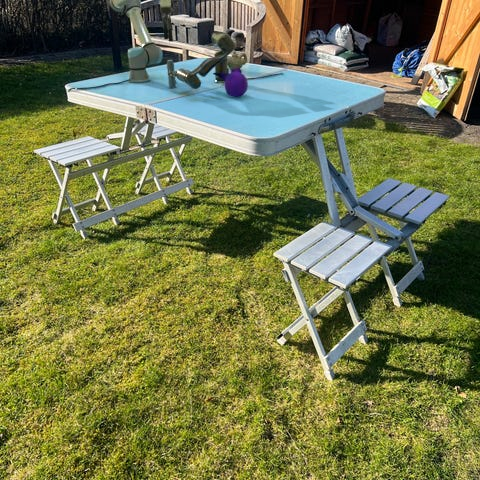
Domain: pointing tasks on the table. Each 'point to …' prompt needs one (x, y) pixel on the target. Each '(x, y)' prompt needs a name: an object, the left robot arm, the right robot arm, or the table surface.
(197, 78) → the right robot arm
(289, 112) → the table surface
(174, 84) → the bottle
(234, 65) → the teapot
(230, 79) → the toy
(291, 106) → the table surface
